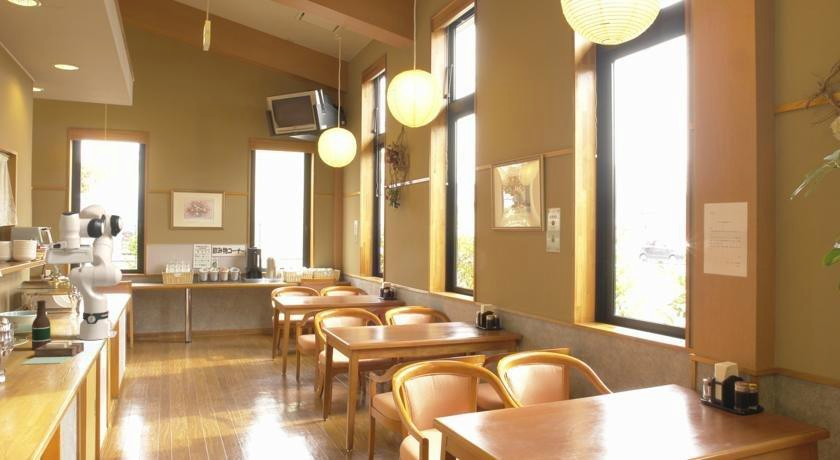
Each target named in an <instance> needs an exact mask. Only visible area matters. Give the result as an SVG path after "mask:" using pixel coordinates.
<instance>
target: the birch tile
mask: <svg viewBox="0 0 840 460" xmlns="http://www.w3.org/2000/svg"><path fill="white" fill-rule="evenodd" d="M72 343H73V342H72V340H67V339H66V340H52V341H50V343H48V344H46V348H66V347H68V346H70V345H72Z"/></svg>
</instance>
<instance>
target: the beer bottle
mask: <svg viewBox="0 0 840 460" xmlns="http://www.w3.org/2000/svg"><path fill="white" fill-rule="evenodd" d="M46 302H47V301H46V300H43V299H42V300H37V301H36V304H37V306H36V309H37V310H36V317H35V318H34V320H33V322H32V325H31V348H32V350H33V351H35V349H37V348H39V347H41V346H44V345H46V344H48V343H50V342H51V321H50V319H49V318H48V317H47V312H46V311H47V310H46Z"/></svg>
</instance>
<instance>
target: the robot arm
mask: <svg viewBox="0 0 840 460" xmlns="http://www.w3.org/2000/svg"><path fill="white" fill-rule="evenodd" d="M123 224H124V223H123V221H122V218H121V216H119V215H116V214H112V215H110V214H109V215H107V213H106V210H105V208H104V207H103V206H101V205H99V204H91V205H88V206H87V207H84V208H83V209H82V210H80V212H79V213H78V212H77V211H65V212H62V213H61V214H60V219H59V223H58V225H59V226H58V227H59V228H58V229H59V238H58V239H59V241H56V242H53V243H52V242H51V243H49V244H48V246H47V247H48V249H47V250H46V253H45V259H44V262H45V264H47V265H53V267H54V269H55V272H56V274H61V269H59V268H58V266H59V265H65V264H67V265H68V264H69V265H70V264H71V265H72V264H80V265H81V266H77V267H73V268H71V270H70V271H69V272H68V281H69V283H70V284H71V285H72V286H73V287H75V288H76V289H77V290H78V291H79V293H80V295H81V296H82V301H83V312H82V321H81V322H80V323H79V332H78V333H79V335H77V336H76V339H80V340H84V341H93V340H94V341H97V340H104V339H111V338H115V337H116V336H117V334H118V331H117V330H113V325H114V324H113V322H112V321H111V320H110V319H109V314H110V310H108V299H107V296H106V295H105V294H103V293H101V292H99V291H97V290H96V287H112V286H118V285H119V284H120V283H121V281H122V278H123V272H122V271H121V269H120V268H119V267H117V266H115V265H114V264H113V263H112V256H113V251H114V238H115V237H117V235H119V234H120V232H121V231H122V230H123ZM113 237H114V238H113ZM81 238H83V239H85V238H86V239H87V238H88V239H94V240H93V242H92V244H81ZM86 264H91V265H92V266H86Z"/></svg>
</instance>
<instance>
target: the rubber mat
mask: <svg viewBox="0 0 840 460" xmlns="http://www.w3.org/2000/svg"><path fill="white" fill-rule="evenodd" d="M71 358H72V357H38V358H35V357H32V358H30V359H28V360H26V361H23V362H22V363H21V366H22V365H53V364H54V365H55V364H56V365H57V364H58V365H59V364H62V363H64V362H66V361H68V360H69V359H71Z"/></svg>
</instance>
